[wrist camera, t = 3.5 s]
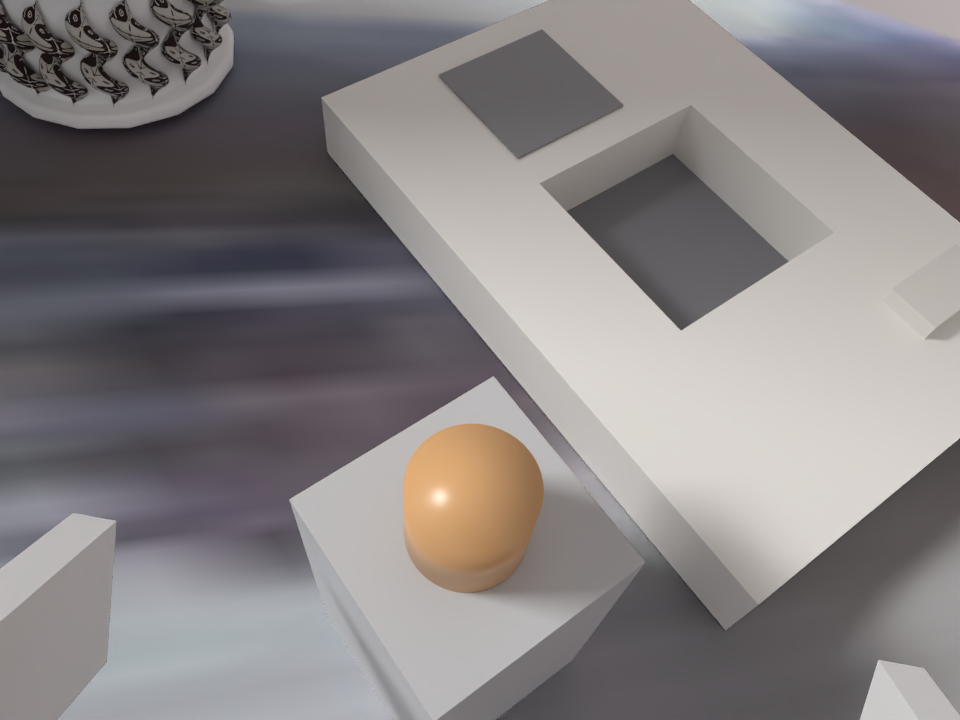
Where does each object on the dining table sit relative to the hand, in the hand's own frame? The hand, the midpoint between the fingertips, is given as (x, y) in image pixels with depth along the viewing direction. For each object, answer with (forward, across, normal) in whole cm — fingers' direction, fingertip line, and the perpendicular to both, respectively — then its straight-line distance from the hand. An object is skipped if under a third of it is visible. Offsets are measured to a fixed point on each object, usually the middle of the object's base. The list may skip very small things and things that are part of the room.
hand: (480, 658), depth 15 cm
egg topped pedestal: (+7, -1, -4) cm, 8 cm away
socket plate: (+16, +4, +6) cm, 18 cm away
